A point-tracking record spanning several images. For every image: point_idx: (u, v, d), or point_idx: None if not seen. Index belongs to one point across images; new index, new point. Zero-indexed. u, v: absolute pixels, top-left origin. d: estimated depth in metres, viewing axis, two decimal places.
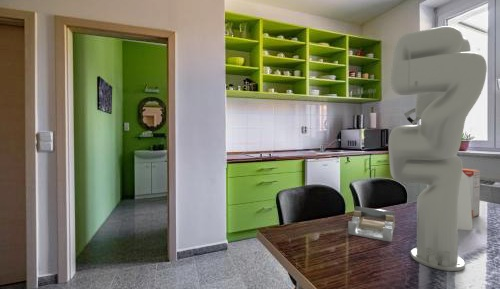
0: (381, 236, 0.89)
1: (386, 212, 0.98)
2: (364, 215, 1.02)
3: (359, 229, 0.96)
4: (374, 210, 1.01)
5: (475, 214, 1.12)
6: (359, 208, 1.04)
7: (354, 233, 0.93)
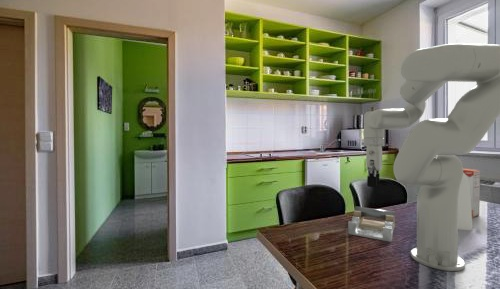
0: (381, 236, 0.89)
1: (386, 212, 0.98)
2: (364, 215, 1.02)
3: (359, 229, 0.96)
4: (374, 210, 1.01)
5: (475, 214, 1.12)
6: (359, 208, 1.04)
7: (354, 233, 0.93)
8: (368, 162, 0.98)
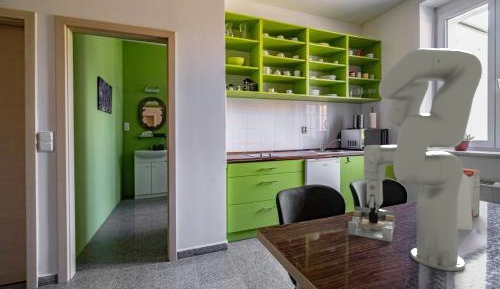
0: (381, 236, 0.89)
1: (386, 212, 0.98)
2: (364, 215, 1.02)
3: (359, 229, 0.96)
4: None
5: (475, 214, 1.12)
6: (359, 208, 1.04)
7: (354, 233, 0.93)
8: (368, 200, 0.98)
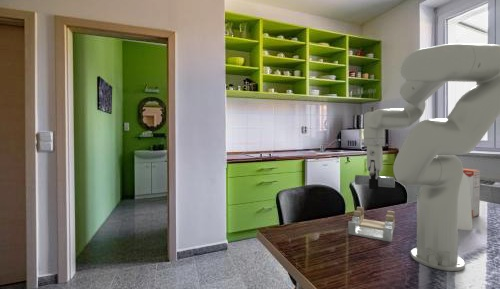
0: (381, 236, 0.89)
1: (386, 178, 0.98)
2: (364, 182, 1.02)
3: (359, 229, 0.96)
4: None
5: (475, 214, 1.12)
6: (359, 176, 1.03)
7: (354, 233, 0.93)
8: (369, 166, 0.98)
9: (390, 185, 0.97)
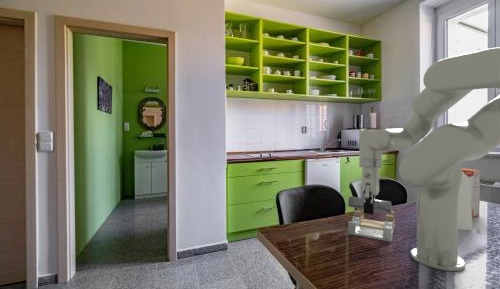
0: (381, 236, 0.89)
1: (382, 202, 0.90)
2: (358, 206, 0.94)
3: (359, 229, 0.96)
4: None
5: (475, 214, 1.12)
6: (353, 198, 0.96)
7: (354, 233, 0.93)
8: (363, 190, 0.90)
9: (386, 211, 0.89)
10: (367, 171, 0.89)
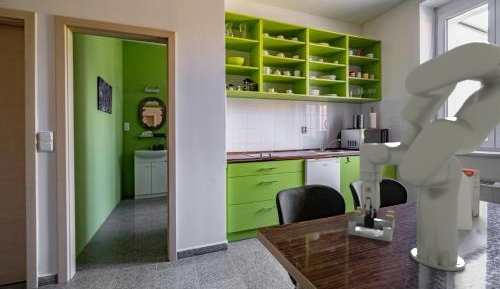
0: (381, 236, 0.89)
1: (384, 222, 0.90)
2: (360, 225, 0.94)
3: (359, 229, 0.96)
4: None
5: (475, 214, 1.12)
6: (354, 217, 0.95)
7: (354, 233, 0.93)
8: (364, 202, 0.90)
9: None
10: (367, 185, 0.89)
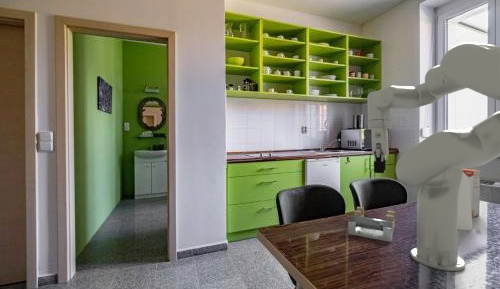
0: (381, 236, 0.89)
1: (383, 223, 0.89)
2: (360, 226, 0.94)
3: (359, 229, 0.96)
4: (370, 220, 0.92)
5: (475, 214, 1.12)
6: (354, 218, 0.95)
7: (354, 233, 0.93)
8: (374, 146, 0.89)
9: None
10: (377, 131, 0.89)
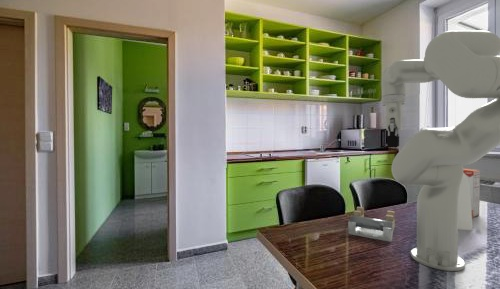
0: (381, 236, 0.89)
1: (383, 223, 0.89)
2: (360, 226, 0.94)
3: (359, 229, 0.96)
4: (370, 220, 0.92)
5: (475, 214, 1.12)
6: (354, 218, 0.95)
7: (354, 233, 0.93)
8: (388, 121, 0.90)
9: None
10: (391, 106, 0.90)
